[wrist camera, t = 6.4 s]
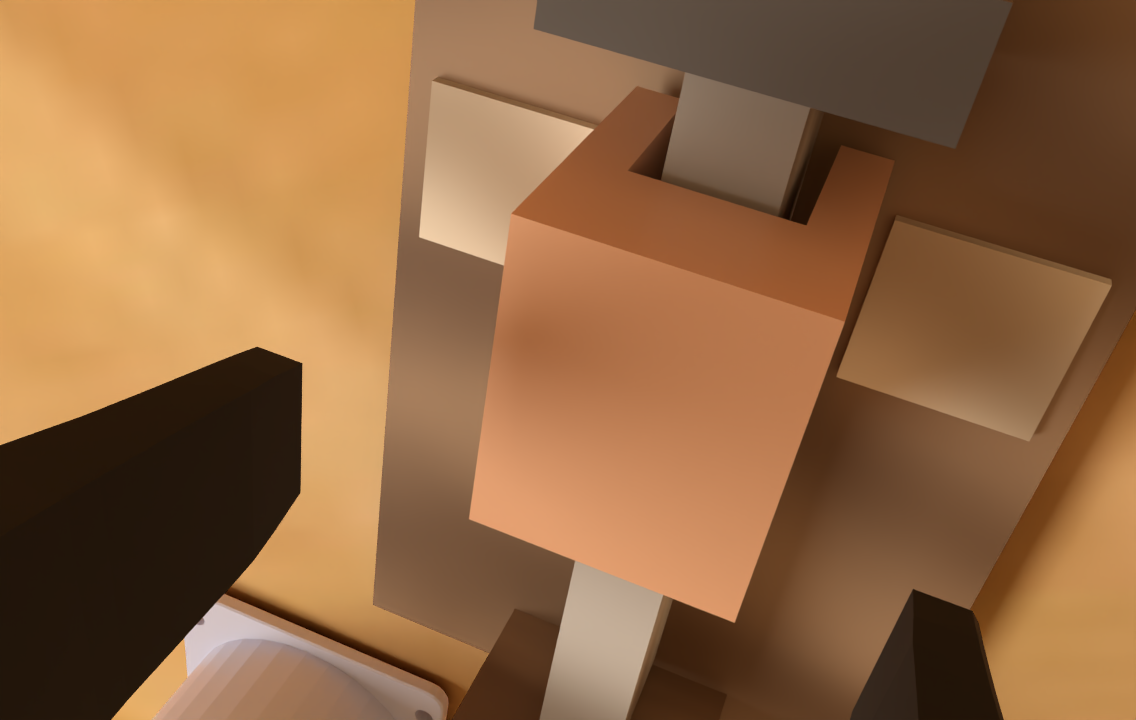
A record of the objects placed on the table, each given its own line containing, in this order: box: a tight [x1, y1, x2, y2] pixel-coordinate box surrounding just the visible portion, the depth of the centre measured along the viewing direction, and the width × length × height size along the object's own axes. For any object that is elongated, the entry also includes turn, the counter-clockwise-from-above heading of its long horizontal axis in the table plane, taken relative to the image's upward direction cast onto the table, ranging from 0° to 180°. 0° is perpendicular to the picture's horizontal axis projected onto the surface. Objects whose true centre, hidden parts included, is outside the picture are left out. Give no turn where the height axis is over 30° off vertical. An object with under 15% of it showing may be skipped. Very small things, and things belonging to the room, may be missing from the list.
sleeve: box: [469, 86, 895, 623], centre depth 16 cm, size 5×4×5 cm
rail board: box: [373, 0, 1136, 720], centre depth 18 cm, size 18×12×5 cm, turn 171°
